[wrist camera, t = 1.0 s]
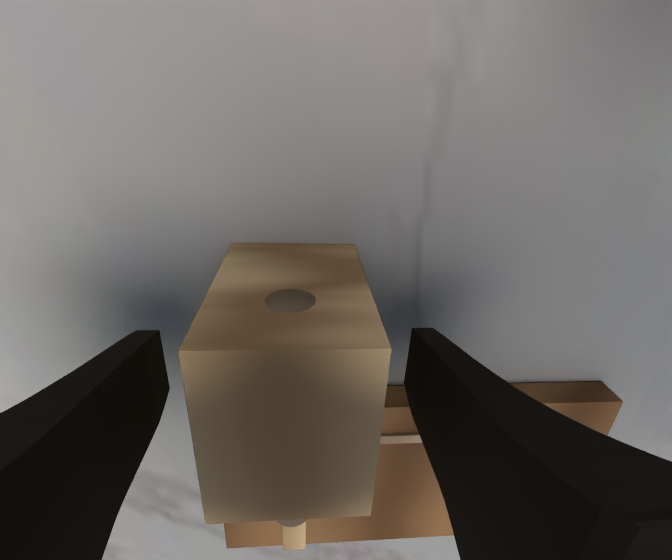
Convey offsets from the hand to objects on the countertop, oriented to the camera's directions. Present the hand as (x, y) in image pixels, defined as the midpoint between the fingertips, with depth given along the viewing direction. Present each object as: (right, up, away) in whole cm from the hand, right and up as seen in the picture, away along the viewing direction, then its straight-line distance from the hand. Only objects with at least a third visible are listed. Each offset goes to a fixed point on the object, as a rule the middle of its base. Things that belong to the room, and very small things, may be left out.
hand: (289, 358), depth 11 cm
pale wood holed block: (0, 0, +3) cm, 3 cm away
